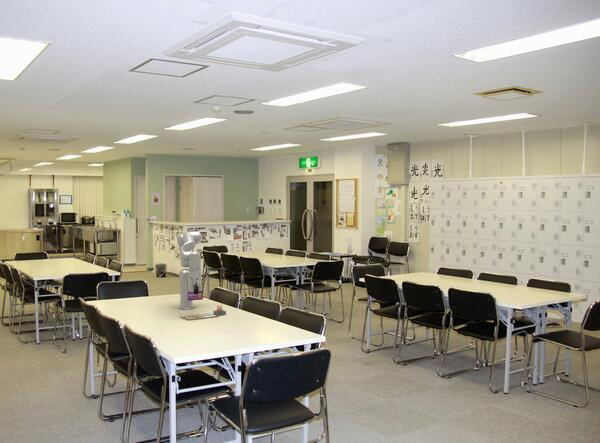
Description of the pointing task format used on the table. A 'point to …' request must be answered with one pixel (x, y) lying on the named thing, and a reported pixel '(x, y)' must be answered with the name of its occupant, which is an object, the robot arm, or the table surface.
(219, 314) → the button housing
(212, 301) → the table surface
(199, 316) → the clipboard
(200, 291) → the candy bar box
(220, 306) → the button
